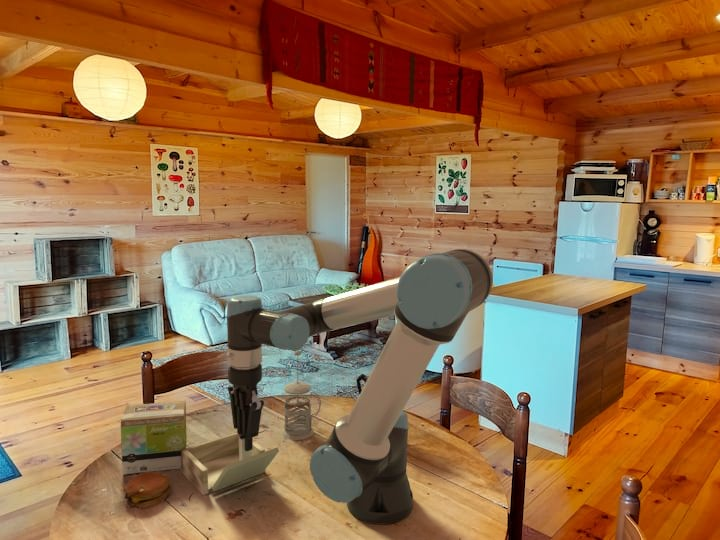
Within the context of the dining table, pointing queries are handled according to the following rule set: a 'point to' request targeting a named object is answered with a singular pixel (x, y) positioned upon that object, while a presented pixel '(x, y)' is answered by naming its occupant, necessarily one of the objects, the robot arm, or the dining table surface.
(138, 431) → the tea box
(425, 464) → the dining table surface
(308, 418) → the french press
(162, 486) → the burger
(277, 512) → the dining table surface
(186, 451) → the crate
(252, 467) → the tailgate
